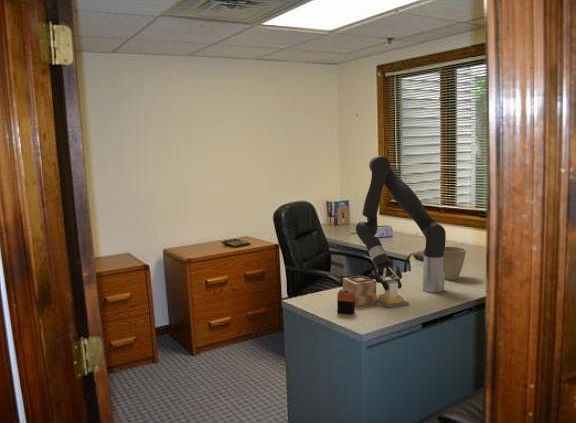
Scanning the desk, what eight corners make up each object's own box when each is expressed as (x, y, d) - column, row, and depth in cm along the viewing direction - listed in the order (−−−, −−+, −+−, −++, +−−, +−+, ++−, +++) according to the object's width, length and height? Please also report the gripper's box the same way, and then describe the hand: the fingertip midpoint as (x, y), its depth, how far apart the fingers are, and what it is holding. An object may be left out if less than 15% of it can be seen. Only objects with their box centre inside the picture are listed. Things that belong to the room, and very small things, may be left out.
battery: (339, 310, 211) (339, 287, 210) (355, 311, 209) (355, 289, 207) (337, 313, 207) (337, 290, 205) (352, 315, 205) (353, 292, 203)
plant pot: (452, 273, 271) (454, 245, 269) (470, 280, 257) (472, 250, 255) (429, 276, 266) (430, 247, 264) (446, 283, 252) (448, 252, 250)
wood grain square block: (363, 296, 231) (363, 274, 229) (375, 302, 221) (376, 280, 219) (342, 299, 226) (342, 276, 225) (354, 305, 216) (355, 282, 215)
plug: (392, 298, 223) (392, 279, 222) (397, 301, 219) (397, 281, 218) (384, 299, 221) (384, 280, 220) (389, 302, 217) (389, 282, 216)
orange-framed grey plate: (394, 298, 227) (394, 291, 227) (408, 304, 217) (408, 297, 217) (373, 300, 223) (374, 294, 223) (387, 308, 213) (387, 301, 213)
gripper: (369, 254, 222) (384, 286, 212) (395, 251, 227) (411, 282, 218) (363, 263, 227) (377, 295, 218) (389, 260, 233) (403, 291, 223)
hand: (394, 288), depth 218 cm, fingers open, 6 cm apart
